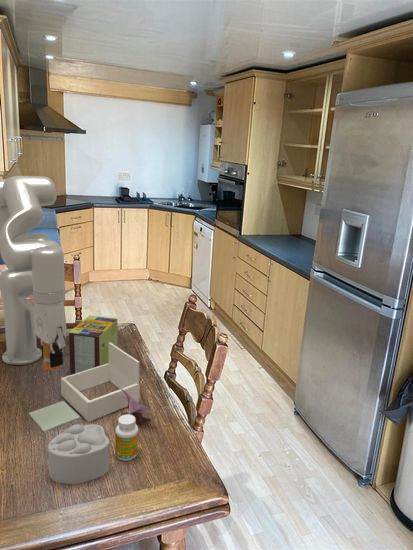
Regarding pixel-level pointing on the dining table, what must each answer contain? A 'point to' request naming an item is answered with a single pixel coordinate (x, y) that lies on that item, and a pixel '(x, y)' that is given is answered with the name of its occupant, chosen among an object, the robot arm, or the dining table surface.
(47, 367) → the supplement box
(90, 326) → the protein box
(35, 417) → the mat
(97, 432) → the lumpy-topped squat cylinder
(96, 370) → the carton
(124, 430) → the supplement bottle
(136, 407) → the lily
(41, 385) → the dining table surface
